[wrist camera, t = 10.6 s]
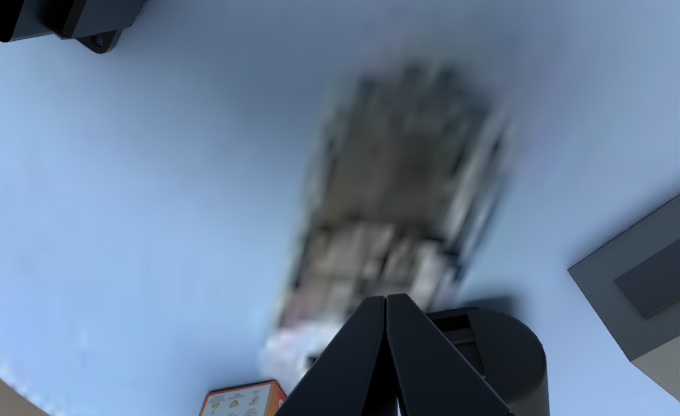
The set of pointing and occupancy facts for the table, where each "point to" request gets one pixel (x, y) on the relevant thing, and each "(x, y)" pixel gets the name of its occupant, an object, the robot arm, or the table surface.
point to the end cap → (500, 355)
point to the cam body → (641, 293)
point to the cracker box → (244, 401)
